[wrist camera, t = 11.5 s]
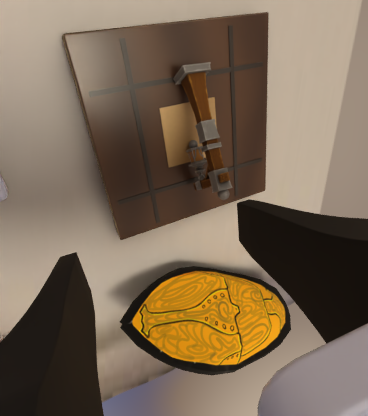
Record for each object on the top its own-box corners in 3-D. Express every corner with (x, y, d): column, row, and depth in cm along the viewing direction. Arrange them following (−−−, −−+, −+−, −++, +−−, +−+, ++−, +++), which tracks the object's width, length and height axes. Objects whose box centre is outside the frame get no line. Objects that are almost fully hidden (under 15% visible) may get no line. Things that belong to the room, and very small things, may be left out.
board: (117, 232, 22) (121, 241, 21) (61, 36, 16) (62, 33, 14) (257, 186, 26) (266, 191, 25) (257, 14, 20) (270, 11, 18)
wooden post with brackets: (190, 204, 21) (218, 203, 17) (161, 93, 20) (183, 63, 16) (211, 197, 21) (244, 195, 17) (185, 90, 21) (212, 60, 16)
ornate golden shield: (126, 394, 18) (112, 397, 22) (323, 353, 24) (282, 361, 29) (118, 264, 22) (107, 288, 27) (286, 258, 29) (255, 279, 33)
